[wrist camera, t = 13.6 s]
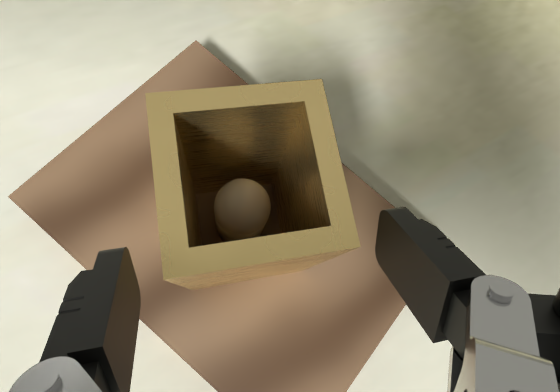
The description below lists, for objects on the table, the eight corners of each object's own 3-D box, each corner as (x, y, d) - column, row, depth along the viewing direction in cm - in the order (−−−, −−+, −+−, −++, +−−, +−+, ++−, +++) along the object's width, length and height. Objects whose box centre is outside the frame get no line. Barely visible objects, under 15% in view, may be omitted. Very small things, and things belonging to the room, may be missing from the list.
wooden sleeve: (191, 290, 20) (163, 279, 11) (179, 182, 21) (145, 93, 12) (301, 270, 21) (360, 247, 12) (282, 169, 22) (321, 78, 13)
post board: (22, 203, 21) (-67, 160, 15) (197, 55, 25) (188, -31, 19) (291, 452, 20) (323, 526, 13) (430, 251, 24) (507, 232, 17)
